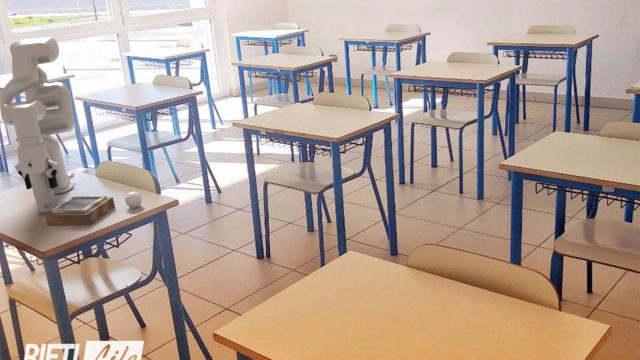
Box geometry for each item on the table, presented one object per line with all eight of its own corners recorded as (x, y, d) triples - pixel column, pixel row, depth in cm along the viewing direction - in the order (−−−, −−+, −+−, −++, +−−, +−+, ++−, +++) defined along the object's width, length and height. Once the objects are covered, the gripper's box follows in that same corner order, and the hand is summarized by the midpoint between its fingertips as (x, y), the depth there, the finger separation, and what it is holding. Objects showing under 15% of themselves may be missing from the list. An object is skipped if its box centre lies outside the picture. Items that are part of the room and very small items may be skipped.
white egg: (145, 207, 221) (141, 192, 220) (128, 211, 219) (125, 196, 217) (140, 201, 228) (137, 186, 226) (124, 205, 226) (121, 190, 224)
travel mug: (51, 214, 225) (37, 160, 218) (35, 214, 226) (20, 160, 220) (61, 207, 230) (48, 154, 224) (45, 208, 232) (32, 155, 225)
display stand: (75, 207, 229) (72, 194, 227) (115, 207, 224) (112, 194, 223) (47, 225, 214) (43, 212, 212) (89, 225, 210) (86, 211, 208)
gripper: (1, 144, 218) (14, 192, 224) (44, 142, 214) (56, 190, 219) (16, 138, 225) (28, 185, 230) (58, 136, 221) (69, 183, 226)
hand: (42, 187), depth 225 cm, fingers open, 9 cm apart
